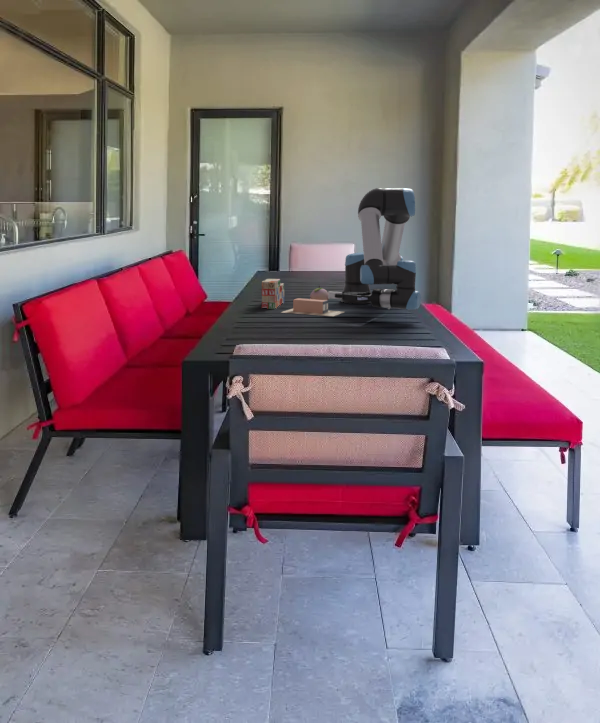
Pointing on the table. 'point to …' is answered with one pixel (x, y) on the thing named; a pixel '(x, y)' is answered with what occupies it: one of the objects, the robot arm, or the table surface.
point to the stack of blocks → (272, 293)
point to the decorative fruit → (319, 294)
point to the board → (329, 313)
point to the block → (310, 305)
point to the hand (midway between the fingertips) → (328, 294)
